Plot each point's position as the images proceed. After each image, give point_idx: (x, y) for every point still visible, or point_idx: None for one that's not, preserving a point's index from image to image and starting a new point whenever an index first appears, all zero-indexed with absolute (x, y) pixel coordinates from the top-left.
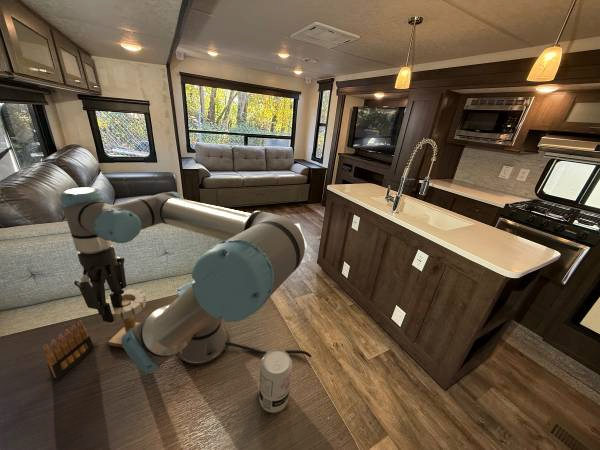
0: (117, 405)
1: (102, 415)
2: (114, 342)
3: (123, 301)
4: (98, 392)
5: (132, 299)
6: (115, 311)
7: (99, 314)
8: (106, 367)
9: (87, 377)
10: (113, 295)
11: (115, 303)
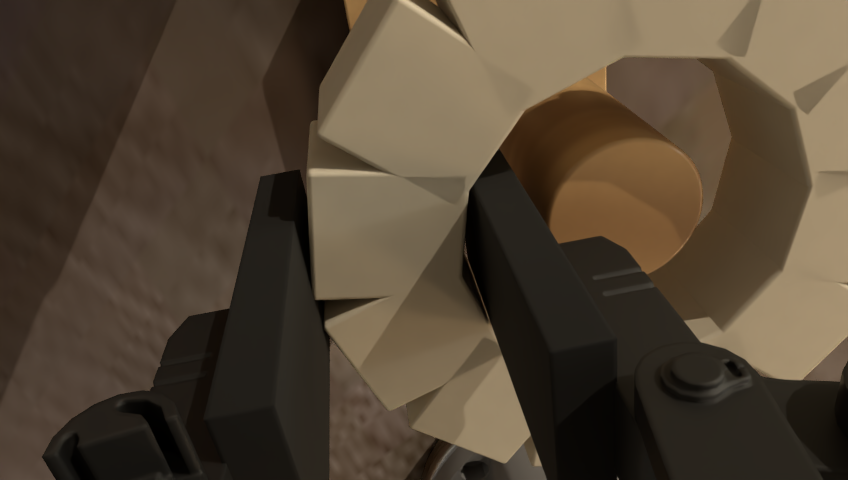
0: (79, 386)
1: (3, 369)
2: (350, 2)
3: (641, 183)
4: (54, 240)
5: (741, 165)
6: (395, 340)
7: (179, 331)
8: (186, 120)
9: (63, 73)
10: (561, 430)
11: (500, 295)
